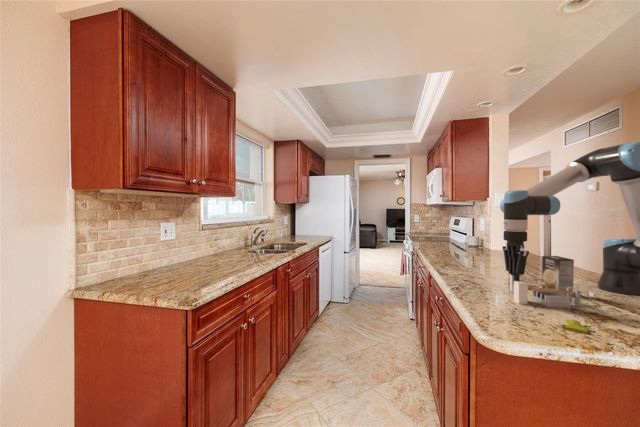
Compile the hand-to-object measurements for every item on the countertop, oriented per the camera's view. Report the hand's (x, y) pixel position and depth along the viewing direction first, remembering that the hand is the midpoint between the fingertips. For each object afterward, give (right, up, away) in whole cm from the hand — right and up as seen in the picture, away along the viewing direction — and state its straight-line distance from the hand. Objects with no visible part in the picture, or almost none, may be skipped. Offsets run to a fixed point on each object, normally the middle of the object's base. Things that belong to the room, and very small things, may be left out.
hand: (514, 291), depth 108 cm
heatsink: (+10, -3, -4) cm, 12 cm away
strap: (+10, +1, -5) cm, 11 cm away
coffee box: (+24, -5, +9) cm, 27 cm away
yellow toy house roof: (+3, -6, -23) cm, 24 cm away
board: (+10, -5, -4) cm, 12 cm away
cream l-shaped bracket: (+2, -3, -4) cm, 5 cm away
